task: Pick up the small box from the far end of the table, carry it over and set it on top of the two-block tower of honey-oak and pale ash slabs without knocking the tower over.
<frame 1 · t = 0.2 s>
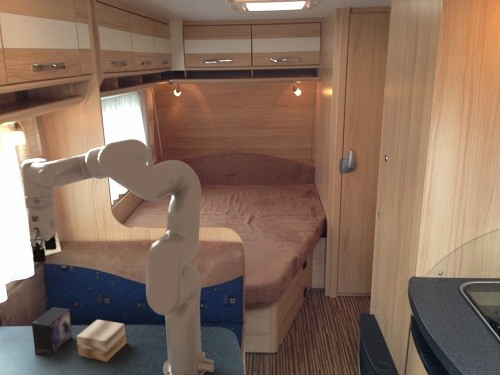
hand: (45, 255, 133), 30 cm above the table, tool pointing down, fingers open, 9 cm apart
ash slab: (102, 340, 134), point 3 cm above the table
oak slab: (103, 350, 135), on the table
small box: (54, 346, 138), on the table
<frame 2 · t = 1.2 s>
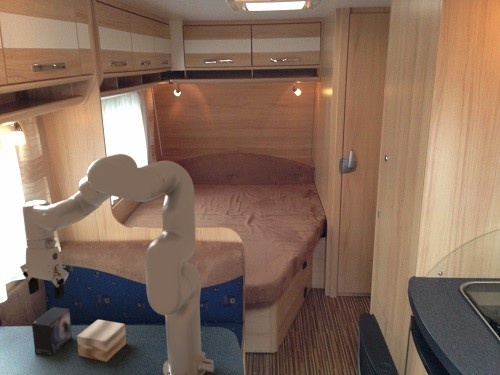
hand: (46, 294, 134), 17 cm above the table, tool pointing down, fingers open, 9 cm apart
ash slab: (102, 340, 135), point 3 cm above the table, touching oak slab
oak slab: (103, 350, 135), on the table, touching ash slab
everything else where it was.
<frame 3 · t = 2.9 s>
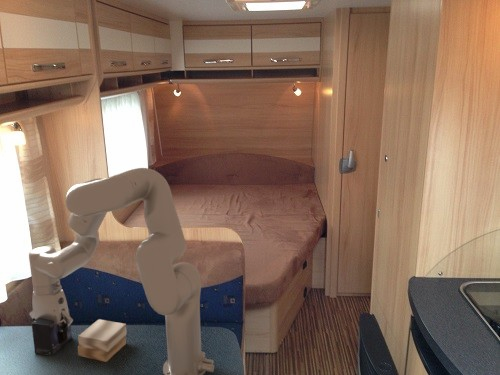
hand: (53, 338, 137), 2 cm above the table, tool pointing down, fingers closed on small box, 6 cm apart
small box: (54, 346, 138), on the table, touching gripper
everything else where it was.
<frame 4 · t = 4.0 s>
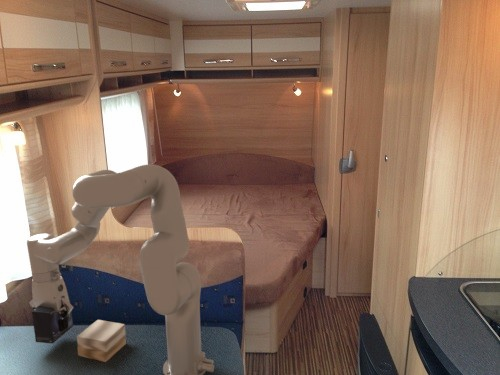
hand: (54, 327, 136), 6 cm above the table, tool pointing down, fingers closed on small box, 6 cm apart
small box: (55, 334, 136), point 4 cm above the table, touching gripper
everything else where it was.
when the fingers open (11 cm above the table, at t = 8.5 s): small box drops 2 cm, resting on ash slab.
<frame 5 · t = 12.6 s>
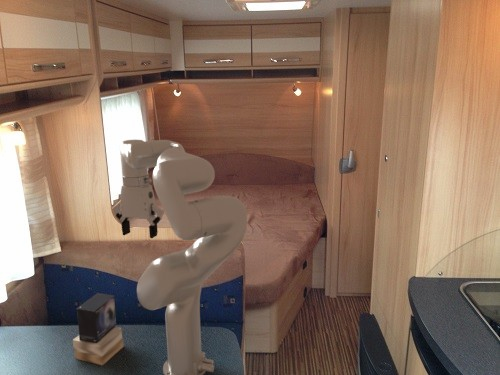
hand: (139, 235, 135), 34 cm above the table, tool pointing down, fingers open, 9 cm apart
ash slab: (98, 344, 133), point 3 cm above the table, touching oak slab, small box
oak slab: (100, 354, 134), on the table, touching ash slab
small box: (98, 333, 133), point 6 cm above the table, touching ash slab
at the end: small box 0.5 cm off-centre on the ash slab, point 3.3 cm above the ash slab's base; ash slab 0.2 cm off-centre on the oak slab, point 3.5 cm above the oak slab's base; small box tilted 0° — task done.
